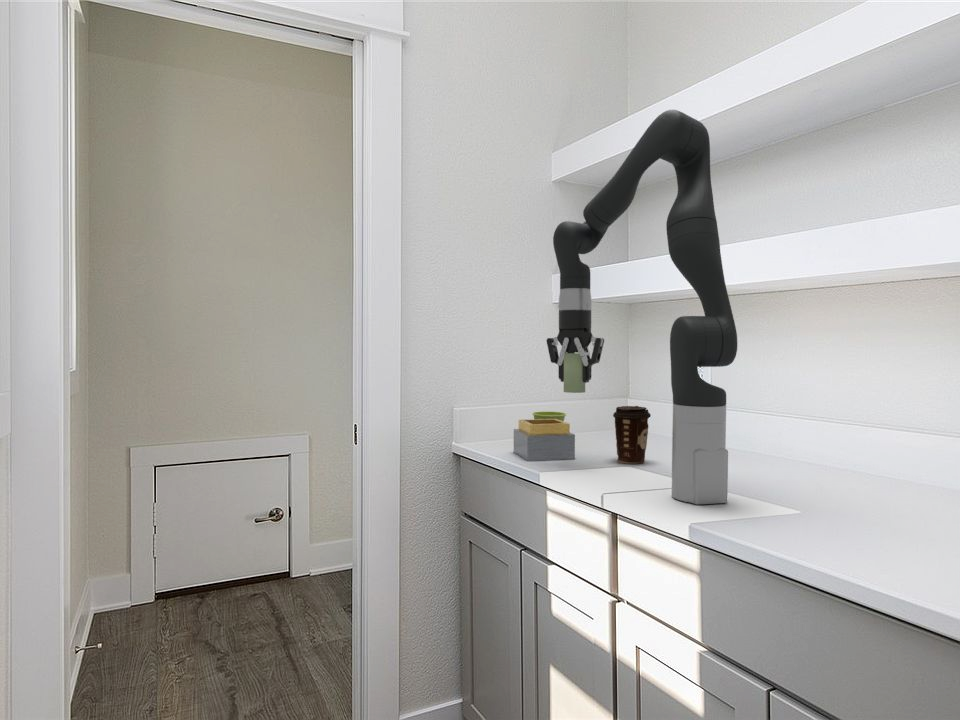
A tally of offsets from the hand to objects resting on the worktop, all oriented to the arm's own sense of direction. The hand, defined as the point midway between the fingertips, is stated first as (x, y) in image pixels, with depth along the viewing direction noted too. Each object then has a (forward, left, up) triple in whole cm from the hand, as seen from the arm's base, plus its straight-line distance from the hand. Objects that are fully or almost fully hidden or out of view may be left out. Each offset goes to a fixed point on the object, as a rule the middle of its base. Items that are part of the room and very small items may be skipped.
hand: (574, 381), depth 149 cm
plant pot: (+27, -3, -19) cm, 33 cm away
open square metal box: (+11, +4, -19) cm, 22 cm away
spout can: (0, 0, -2) cm, 2 cm away
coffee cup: (-1, -14, -19) cm, 24 cm away
